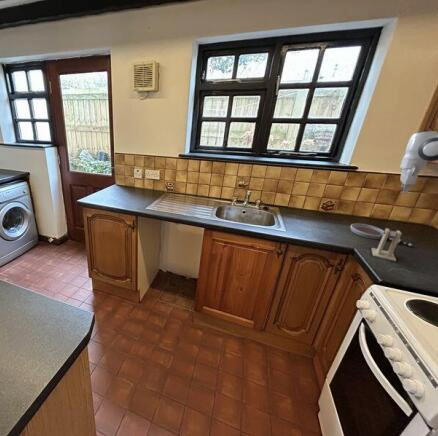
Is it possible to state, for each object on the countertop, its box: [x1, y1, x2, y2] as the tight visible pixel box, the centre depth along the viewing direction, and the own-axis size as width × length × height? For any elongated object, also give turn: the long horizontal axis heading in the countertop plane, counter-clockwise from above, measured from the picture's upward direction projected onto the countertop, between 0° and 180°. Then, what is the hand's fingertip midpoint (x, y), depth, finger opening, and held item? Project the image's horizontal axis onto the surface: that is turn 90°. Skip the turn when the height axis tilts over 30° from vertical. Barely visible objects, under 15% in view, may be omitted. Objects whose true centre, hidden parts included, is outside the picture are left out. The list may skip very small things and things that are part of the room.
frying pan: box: [350, 223, 413, 247], centre depth 141 cm, size 17×3×28 cm
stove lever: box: [379, 230, 397, 242], centre depth 122 cm, size 14×4×4 cm, turn 144°
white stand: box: [371, 227, 402, 262], centre depth 119 cm, size 10×8×14 cm
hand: (403, 192), depth 126 cm, fingers open, 8 cm apart
